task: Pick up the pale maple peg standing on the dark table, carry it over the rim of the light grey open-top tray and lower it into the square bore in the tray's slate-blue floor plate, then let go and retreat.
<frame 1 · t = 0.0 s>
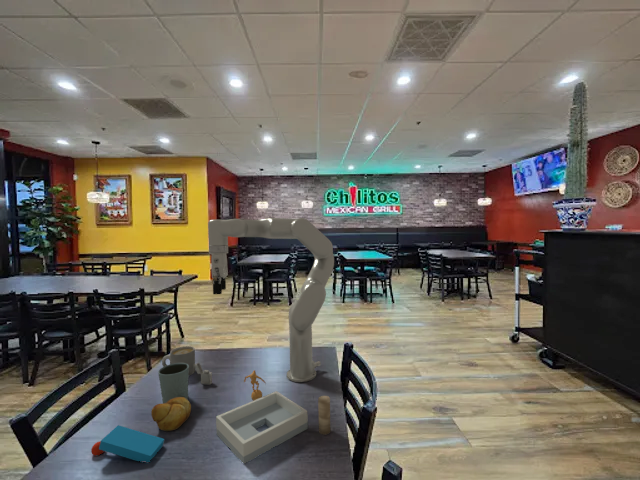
hand: (219, 291, 129), 37 cm above the table, tool pointing down, fingers open, 9 cm apart
peg: (324, 430, 97), on the table
green cup: (174, 401, 116), on the table
tray: (262, 431, 97), on the table
bread roll: (175, 422, 103), on the table
lighter: (203, 383, 129), on the table
coffee mug: (179, 373, 139), on the table
figurine: (255, 402, 114), on the table
lever: (125, 455, 88), on the table
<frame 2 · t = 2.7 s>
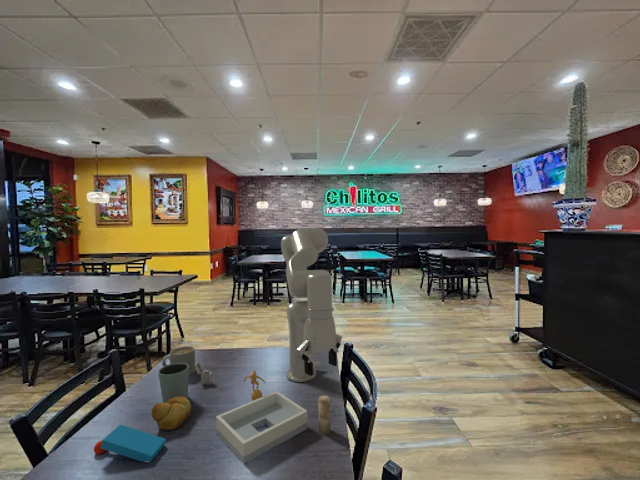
hand: (321, 369, 96), 19 cm above the table, tool pointing down, fingers open, 9 cm apart
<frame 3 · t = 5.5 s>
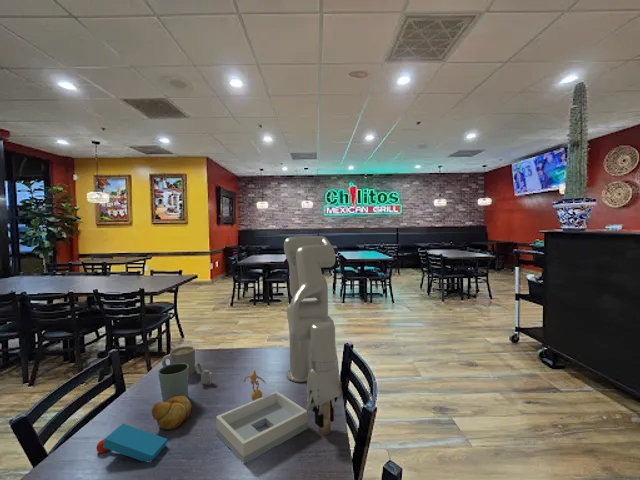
hand: (324, 421, 97), 3 cm above the table, tool pointing down, fingers closed on peg, 3 cm apart
peg: (324, 430, 97), on the table, touching gripper
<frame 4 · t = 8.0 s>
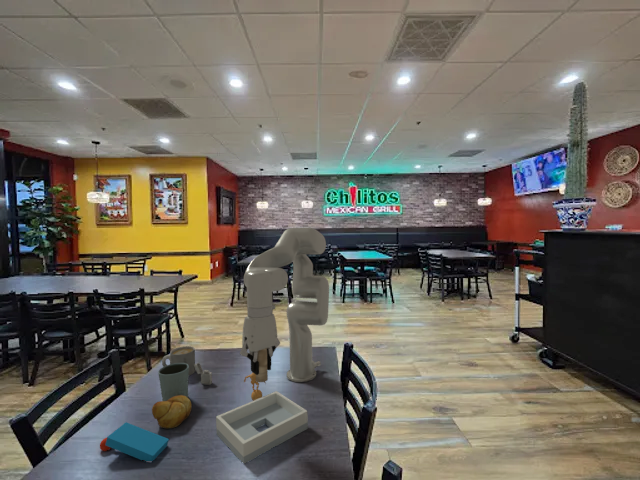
hand: (261, 370, 96), 19 cm above the table, tool pointing down, fingers closed on peg, 3 cm apart
peg: (261, 379, 96), point 16 cm above the table, touching gripper
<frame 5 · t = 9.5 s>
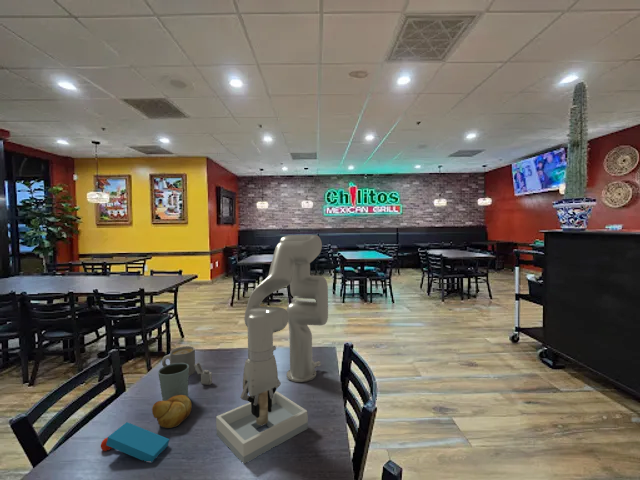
hand: (261, 412, 97), 6 cm above the table, tool pointing down, fingers closed on peg, 3 cm apart
peg: (262, 421, 97), point 3 cm above the table, touching gripper
when the fingers open (3 cm above the table, at t = 10.6 s): peg stays where it is, resting in tray.
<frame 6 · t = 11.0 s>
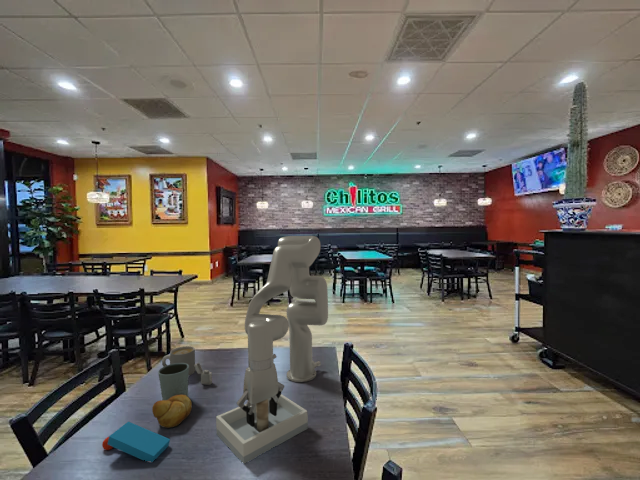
hand: (262, 418, 97), 4 cm above the table, tool pointing down, fingers open, 7 cm apart
peg: (262, 431, 97), resting in tray
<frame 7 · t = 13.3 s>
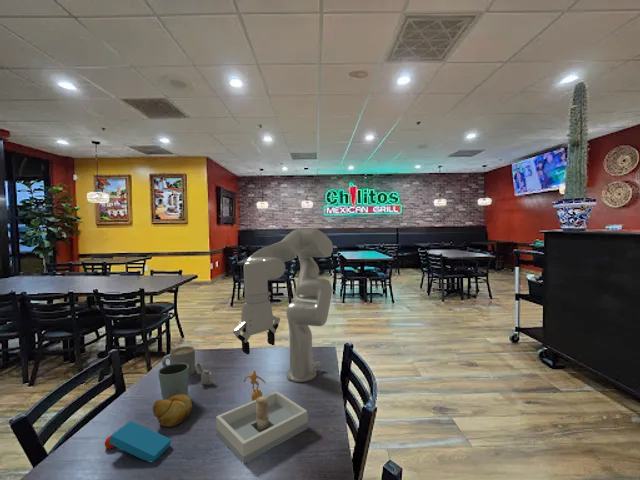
hand: (259, 348, 105), 23 cm above the table, tool pointing down, fingers open, 9 cm apart
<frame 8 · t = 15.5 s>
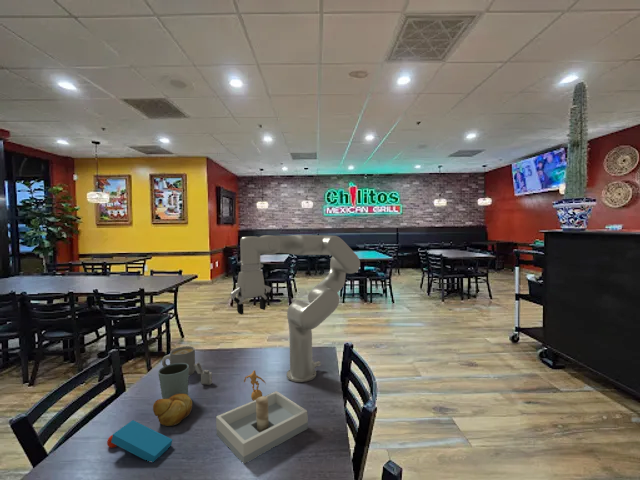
hand: (252, 311, 123), 30 cm above the table, tool pointing down, fingers open, 9 cm apart
at the end: peg 0.0 cm off-centre on the tray, point 0.0 cm above the tray's base; peg tilted 0°; the gripper is holding nothing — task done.
